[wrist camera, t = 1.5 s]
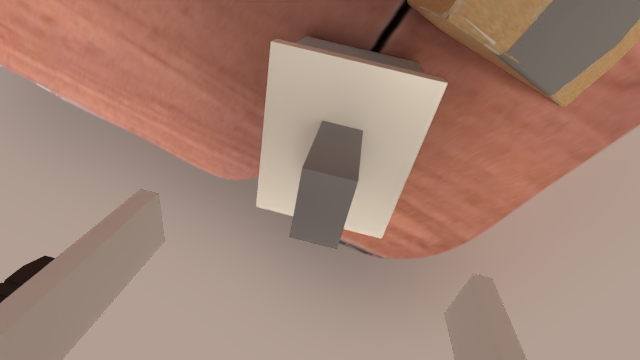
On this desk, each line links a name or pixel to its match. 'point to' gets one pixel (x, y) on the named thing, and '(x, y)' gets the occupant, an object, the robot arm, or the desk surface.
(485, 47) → the sandwich container
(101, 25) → the desk surface
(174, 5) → the desk surface
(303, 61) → the lid
